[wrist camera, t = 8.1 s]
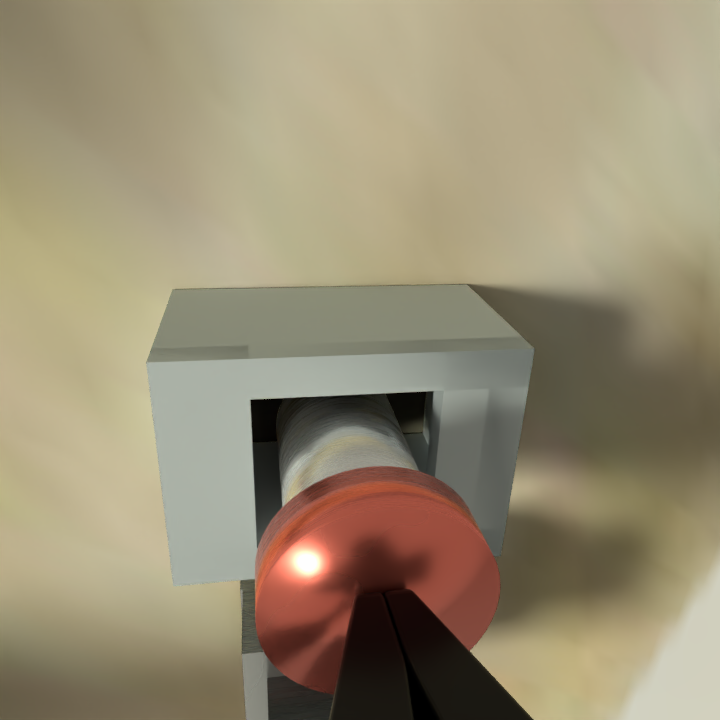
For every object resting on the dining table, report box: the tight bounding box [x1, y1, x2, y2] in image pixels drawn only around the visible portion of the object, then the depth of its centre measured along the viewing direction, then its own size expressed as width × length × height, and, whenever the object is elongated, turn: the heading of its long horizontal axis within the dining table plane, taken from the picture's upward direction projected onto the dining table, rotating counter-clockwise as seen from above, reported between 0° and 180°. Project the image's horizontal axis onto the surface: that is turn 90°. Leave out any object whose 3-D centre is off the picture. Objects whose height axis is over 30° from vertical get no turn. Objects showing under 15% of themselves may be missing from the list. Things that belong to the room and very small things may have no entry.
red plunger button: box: [255, 393, 500, 695], centre depth 11 cm, size 4×4×5 cm
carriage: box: [240, 579, 334, 720], centre depth 14 cm, size 5×4×8 cm
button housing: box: [146, 284, 535, 586], centre depth 14 cm, size 5×7×4 cm
